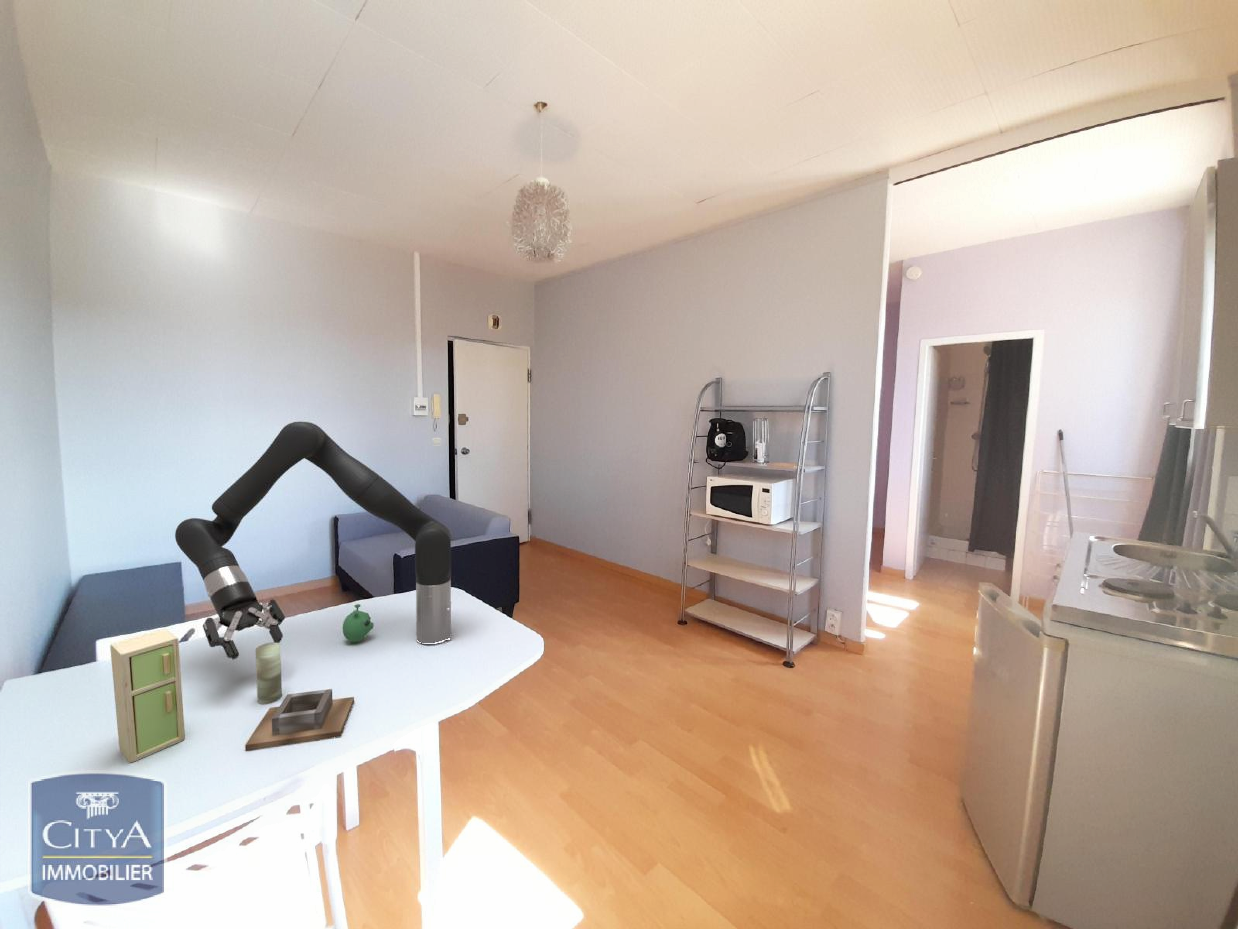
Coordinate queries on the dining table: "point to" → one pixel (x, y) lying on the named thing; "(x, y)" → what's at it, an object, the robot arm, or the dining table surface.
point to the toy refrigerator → (147, 693)
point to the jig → (302, 720)
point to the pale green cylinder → (268, 673)
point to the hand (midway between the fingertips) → (258, 649)
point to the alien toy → (357, 625)
